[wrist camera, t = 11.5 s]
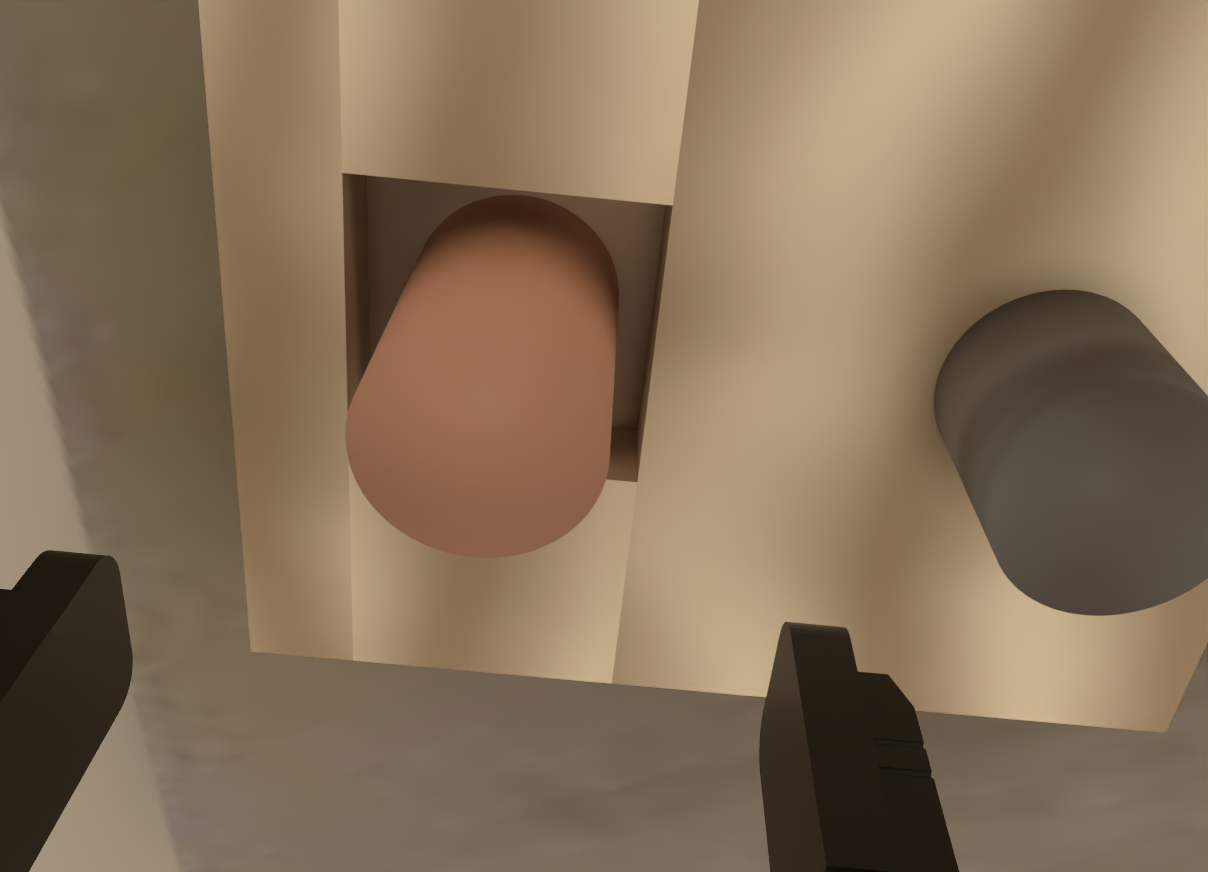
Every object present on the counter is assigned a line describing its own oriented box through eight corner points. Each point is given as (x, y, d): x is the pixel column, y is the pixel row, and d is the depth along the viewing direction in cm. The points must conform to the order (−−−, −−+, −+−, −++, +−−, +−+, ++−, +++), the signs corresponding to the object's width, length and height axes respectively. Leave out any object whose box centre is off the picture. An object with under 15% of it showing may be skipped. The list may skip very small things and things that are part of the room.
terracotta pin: (629, 204, 22) (622, 344, 16) (609, 393, 24) (598, 569, 18) (415, 184, 22) (341, 317, 16) (415, 374, 24) (348, 546, 18)
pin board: (1411, -74, 20) (1749, -1, 14) (1117, 642, 28) (1248, 886, 22) (244, -198, 19) (64, -179, 13) (287, 567, 27) (187, 794, 21)
